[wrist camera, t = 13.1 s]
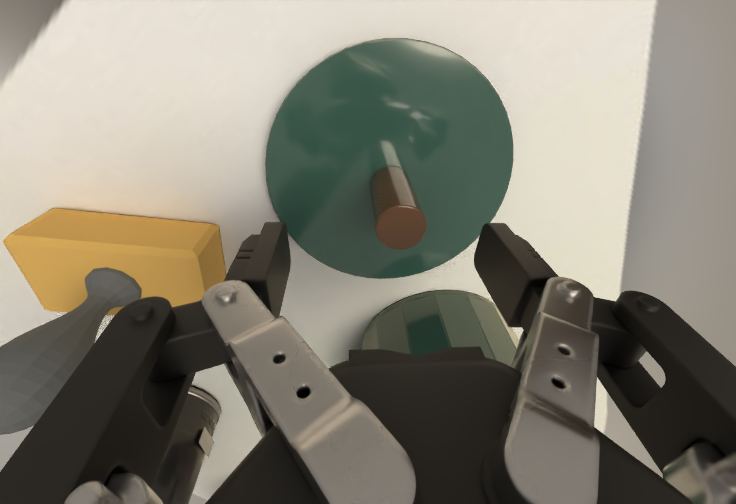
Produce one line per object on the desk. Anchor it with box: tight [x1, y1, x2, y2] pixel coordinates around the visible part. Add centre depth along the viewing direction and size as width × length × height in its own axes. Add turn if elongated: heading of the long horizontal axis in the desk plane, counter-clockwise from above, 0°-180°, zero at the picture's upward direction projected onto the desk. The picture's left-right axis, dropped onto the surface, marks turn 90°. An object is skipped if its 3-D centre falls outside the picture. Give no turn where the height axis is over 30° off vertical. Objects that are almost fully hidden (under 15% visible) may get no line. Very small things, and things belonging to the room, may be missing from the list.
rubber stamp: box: [0, 208, 226, 435], centre depth 17 cm, size 10×6×12 cm, turn 82°
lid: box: [265, 38, 513, 279], centre depth 17 cm, size 14×14×6 cm
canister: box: [362, 290, 519, 367], centre depth 26 cm, size 13×13×8 cm
